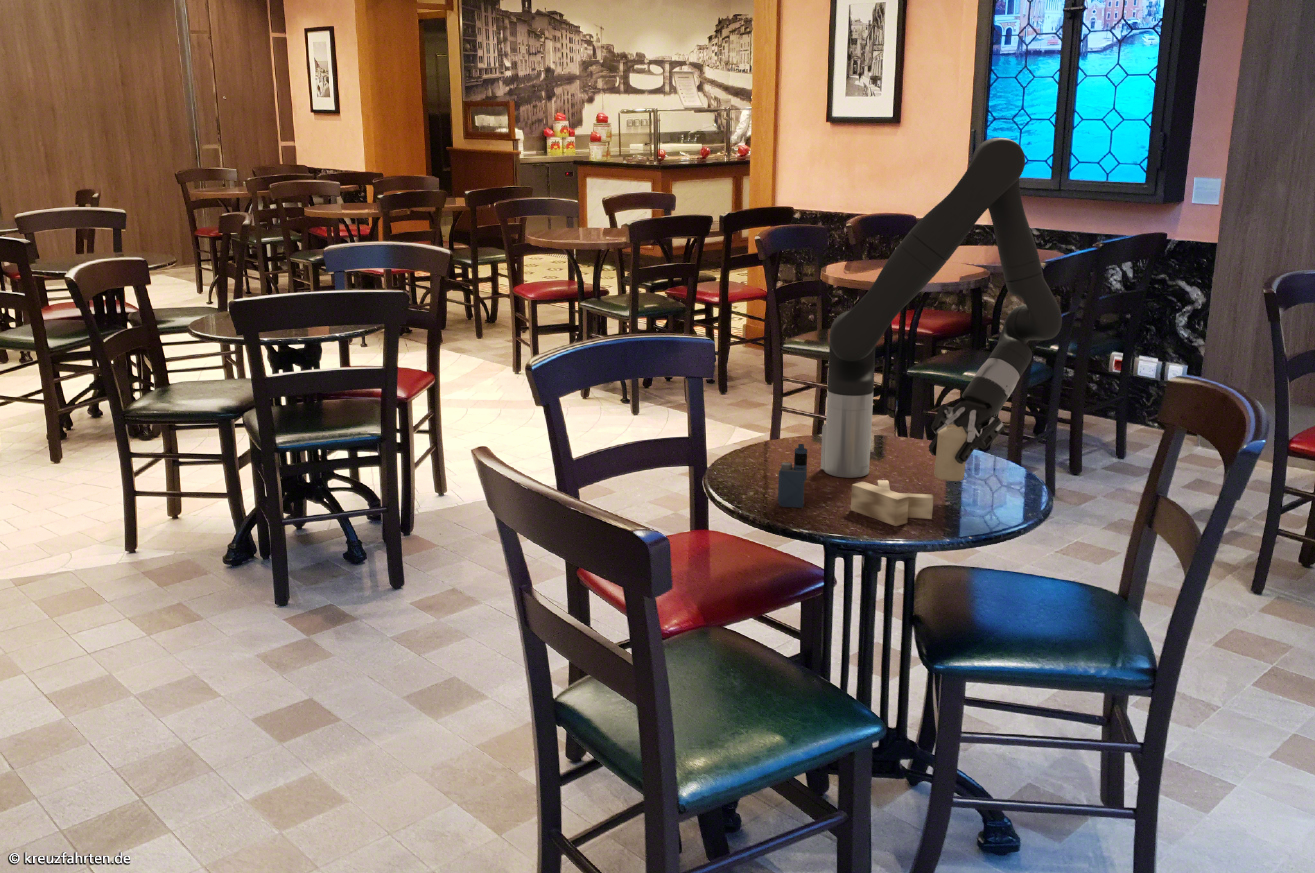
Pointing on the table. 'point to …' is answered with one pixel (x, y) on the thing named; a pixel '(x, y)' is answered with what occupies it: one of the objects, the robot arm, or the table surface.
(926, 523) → the table surface
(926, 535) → the table surface
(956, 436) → the candle
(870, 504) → the letter k block
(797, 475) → the vaping device
